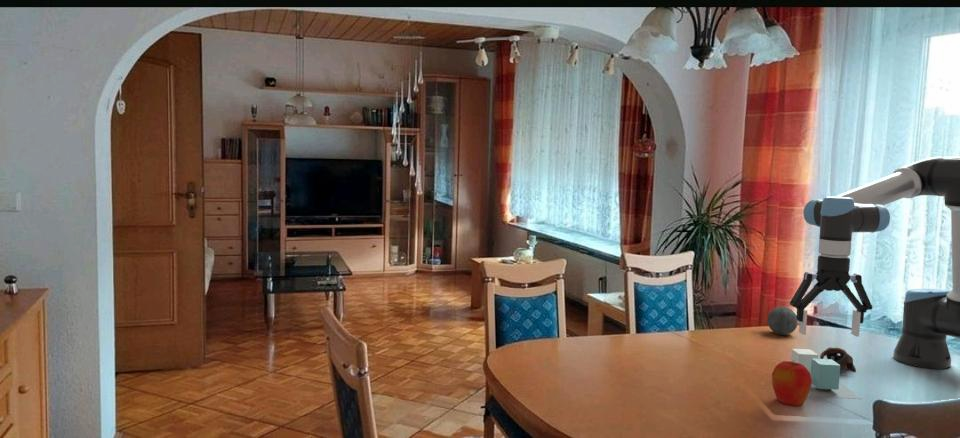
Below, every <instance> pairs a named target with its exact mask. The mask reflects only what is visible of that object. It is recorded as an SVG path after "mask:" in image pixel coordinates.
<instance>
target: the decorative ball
mask: <svg viewBox="0 0 960 438" xmlns="http://www.w3.org/2000/svg"><path fill="white" fill-rule="evenodd" d="M796 315H797V313H795V311H793V310H792V309H791V308H789V307H786V306H778V307H775V308H773V309H771V310H770V312H769V313H768V315H767V318H766V319H767V320H766V321H767V325H768V327H769V329H770V330H771V331H772V332H773V333H775V334H777V335H781V336H786V335H790V334H791V333H793V332H795V330H797V327H798V326H799V325H798V324H799V321H798V320H797V319H796Z"/></svg>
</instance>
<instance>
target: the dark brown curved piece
mask: <svg viewBox="0 0 960 438" xmlns="http://www.w3.org/2000/svg"><path fill="white" fill-rule="evenodd" d="M825 357H826V359H832V360H833V361H835V362H836V363H838V364H839V365H840V370H841V369H842V370H848V369H850V370H852V371H854V372H857V369H856V367H855V365H854V360H853V356H852V355H850V354H849V353H848V352H847V351H846V350H845V349H843V348H841V347H828V348H826V349H825V350H823V351H822V352H821V353H820V355H819V359H825Z"/></svg>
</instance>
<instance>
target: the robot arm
mask: <svg viewBox="0 0 960 438" xmlns="http://www.w3.org/2000/svg"><path fill="white" fill-rule="evenodd" d="M919 196H933V197H935V196H936V197H937V196H938V197H944V206H945V207H946V208H948V209H949V210H950V216H951V217H950V222H951V225H950V226H951V270H952V272H951V274H952V279H951V280H952V290H947V289H938V288H936V289H935V288H913V289H909V290H907V291H906V292H905V296H904V301H903V313H902V314H903V315H902V329H901V335H900V337H899V339H898V341H897V343H896V345H895V348H894V350H893V359H894V360H896V361H898V362H900V363H903V364H906V365H909V366H915V367H919V368H925V369H936V370H937V369H939V370H940V369H941V370H943V369H944V370H945V369H949V368H950V367H951V366H952V358H951V353H950V350H949V345H948V342H947V336H949V337H953V338H956V339H960V156H933V157H929V158H925V159H922V160H917V161H915V162H913V163H909V164H906V165H904V166H902V167H899V168H897V169H895V170H894V171H893V173H892V174H890V175H888V176H885V177H882V178H880V179H878V180H875V181H872V182H869V183H867V184H864V185H862V186H858V187H857V188H854V189H851V190H848V191H846V192H843V193H840V194H839V195H835V196H826V197H824V198H823V199H811V200H809V201H807V203H806V204H805V205H804V208H803V211H802V213H803V218H804V221H805V222H806V223H807V224H809V225H810V226H811V225H812V226H815V227H818V228H819V240H818V251H817V252H818V254H819V255H818V256H817V265H816V267H817V268H816V269H817V271H816V273H811V272H807V271H806V272H804V273H803V279H802V281H801V283H800V284H799V286H798V288H797V290H796V291H795V293H794V294H793V296H792V297H791V300H790V301H789V305H790V306H791V307H793V308H796V319H797V320H798V324H799V325H798V333H800V334H801V335H806V334H807V323H808V322H807V320H808V310H807V309H806V308H807V307H809V305H810V304H811V303H812V302H813V300H815V299H816V298H817V297H818V295H820V294H821V293H823V292H824V291H827V292H828V291H829V292H832V291H835V292H840V291H841V292H842V293H843V294H844V296H845V297H846V298H847V299H848V301H849V302H850V303H851V304H852V305H853V306H854V308H855V309H852V316H851V317H852V318H851V332H850V334H851V335H853V336H854V337H860V329H861V328H860V327H861V324H863V323H864V316H865V313H867V311H869V310H872V309H873V305H872V303H871V301H870V299H869V296H868V294H867V291H866V290H865V287H864V285H863V282H862V281H863V279H862V278H863V277H862V275H860V274H858V273H853V274H850V273H849V272H850V265H851V258H850V257H849V256H850V255H851V251H852V237H853V236H852V235H853V234H854V233H871V234H872V233H873V234H874V233H877V232H882V231H884V230H886V228H888V226H889V225H890V221H891V214H890V211H889V210H888V209H887V207H886V206H887V205H888V204H891V203H893V202H896V201H898V200H901V199H913V198H916V197H919ZM814 280H816V281H817V282H816V283H815V284H814V285H813V287H812V289H810V291H808V289H809V288H810V286H811V284H812V282H814ZM849 282H852V284H853V287H854V289H855V291H856V293H857V296H858V298H859V299H858V298H857V297H856V295H854V293H853V292H852V290H851V288H849V286H848V285H847V284H848V283H849ZM806 293H807V294H806ZM948 367H949V368H948Z"/></svg>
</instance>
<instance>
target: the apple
mask: <svg viewBox="0 0 960 438" xmlns="http://www.w3.org/2000/svg"><path fill="white" fill-rule="evenodd" d="M793 361H794V360H793ZM771 379H772V380H771V381H772V388H773V392H774V395H775V398H776V399H777V401H779V402H780V403H781V404H783V405H786V406H790V407H800V406H802V405H803V404H804V403H805V402H806V400H807V398H808V397H809V396H808V394H809V392H810V388H811V383H812V378H811V375H810V372H809V371H808V370H807V369H806V367H805V366H804V365H802V364H799V363H795V362H791V360H790V361H787V360H786V361H785V360H784V361H781V362H779V363H778V364H777V365H775V367H774V368H773V371H772V373H771Z"/></svg>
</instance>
